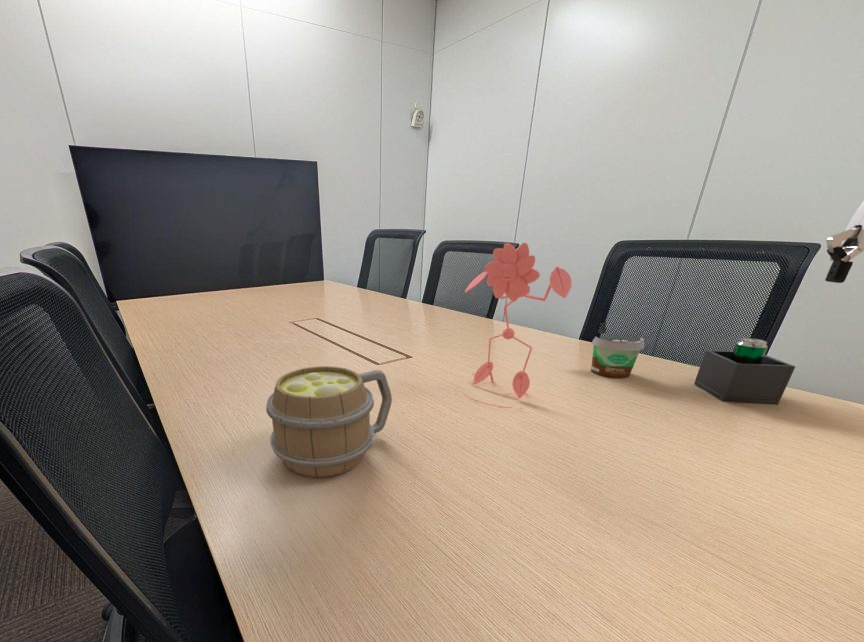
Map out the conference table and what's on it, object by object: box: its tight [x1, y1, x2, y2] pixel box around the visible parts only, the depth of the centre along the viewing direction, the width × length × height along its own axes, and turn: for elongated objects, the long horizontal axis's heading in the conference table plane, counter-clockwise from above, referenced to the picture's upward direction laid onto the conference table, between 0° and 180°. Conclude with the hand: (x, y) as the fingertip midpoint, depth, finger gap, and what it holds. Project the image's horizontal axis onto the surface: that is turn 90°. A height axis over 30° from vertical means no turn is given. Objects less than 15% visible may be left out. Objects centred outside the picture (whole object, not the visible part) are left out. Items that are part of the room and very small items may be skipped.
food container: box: [590, 336, 645, 379], centre depth 100 cm, size 12×6×10 cm, turn 81°
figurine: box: [463, 242, 572, 409], centre depth 86 cm, size 15×26×35 cm, turn 36°
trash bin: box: [694, 349, 796, 405], centre depth 87 cm, size 11×11×9 cm
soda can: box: [730, 337, 769, 364], centre depth 87 cm, size 5×5×12 cm
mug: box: [265, 365, 393, 478], centre depth 68 cm, size 19×25×15 cm
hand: (863, 282), depth 74 cm, fingers open, 9 cm apart
